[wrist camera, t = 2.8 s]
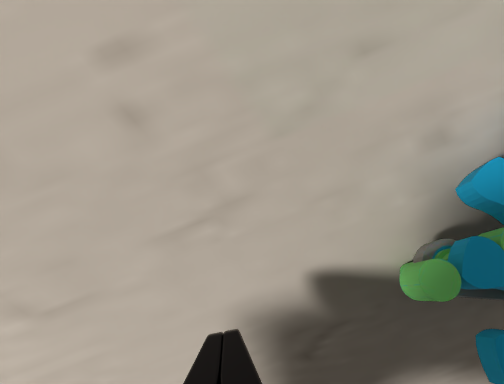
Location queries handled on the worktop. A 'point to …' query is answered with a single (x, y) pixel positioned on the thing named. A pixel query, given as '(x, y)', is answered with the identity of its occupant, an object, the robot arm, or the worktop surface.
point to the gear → (468, 263)
